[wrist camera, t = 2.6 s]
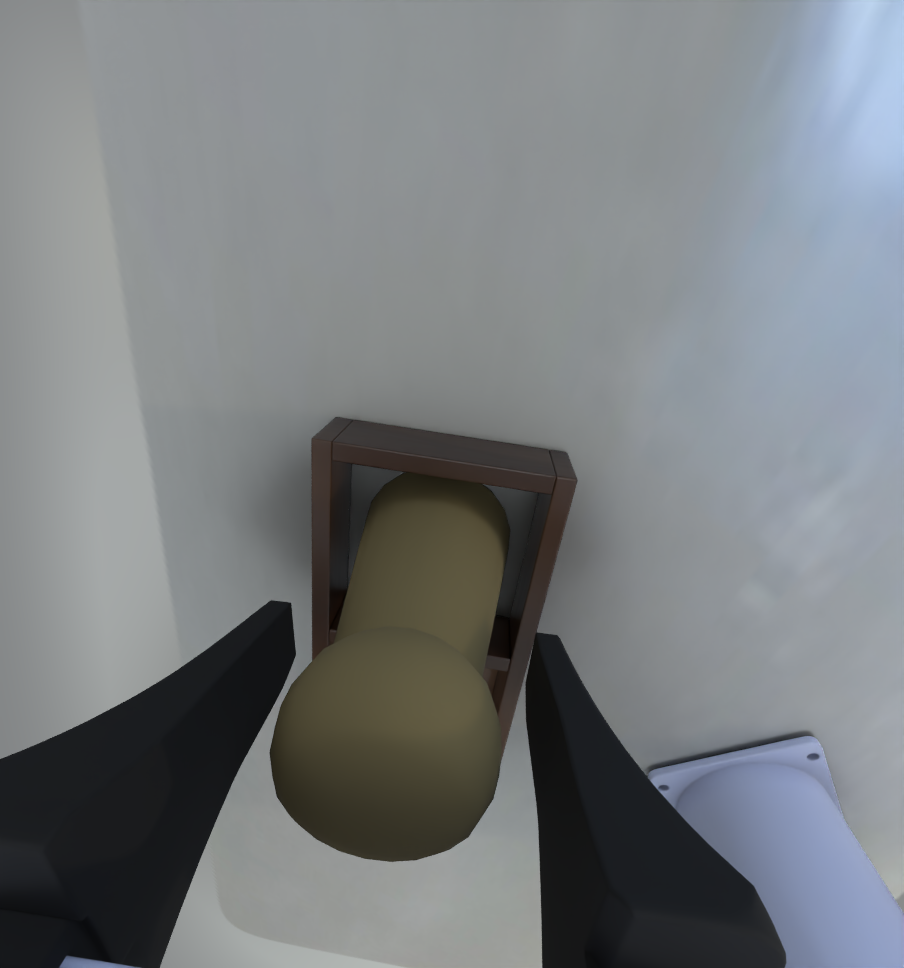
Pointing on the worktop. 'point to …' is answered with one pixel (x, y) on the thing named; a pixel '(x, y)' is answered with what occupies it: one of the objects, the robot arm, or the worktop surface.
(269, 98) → the worktop surface
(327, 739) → the cork
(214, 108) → the worktop surface
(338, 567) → the caddy
